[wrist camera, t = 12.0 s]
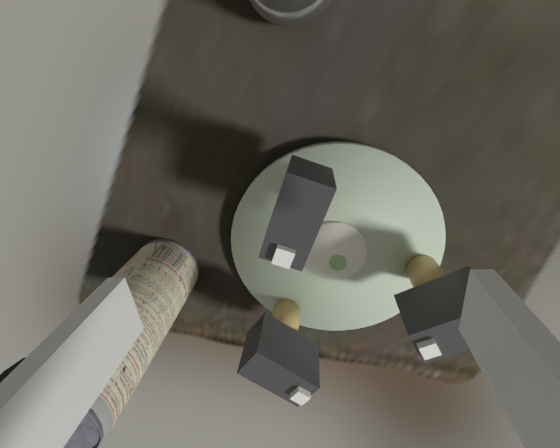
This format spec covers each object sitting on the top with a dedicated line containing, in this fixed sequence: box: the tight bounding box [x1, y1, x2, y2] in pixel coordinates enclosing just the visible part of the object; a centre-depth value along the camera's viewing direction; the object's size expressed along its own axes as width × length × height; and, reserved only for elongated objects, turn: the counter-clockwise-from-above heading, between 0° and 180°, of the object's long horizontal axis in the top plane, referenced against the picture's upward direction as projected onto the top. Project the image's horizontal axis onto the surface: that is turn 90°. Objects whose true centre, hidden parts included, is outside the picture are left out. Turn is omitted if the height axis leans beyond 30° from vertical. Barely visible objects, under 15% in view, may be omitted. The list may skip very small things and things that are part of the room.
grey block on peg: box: [394, 255, 471, 363], centre depth 25 cm, size 6×3×9 cm, turn 122°
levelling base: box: [231, 141, 446, 331], centre depth 29 cm, size 20×20×2 cm
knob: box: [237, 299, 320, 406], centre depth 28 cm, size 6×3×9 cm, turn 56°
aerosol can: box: [64, 239, 199, 448], centre depth 25 cm, size 7×7×20 cm
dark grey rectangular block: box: [258, 155, 337, 272], centre depth 22 cm, size 6×3×9 cm, turn 162°
